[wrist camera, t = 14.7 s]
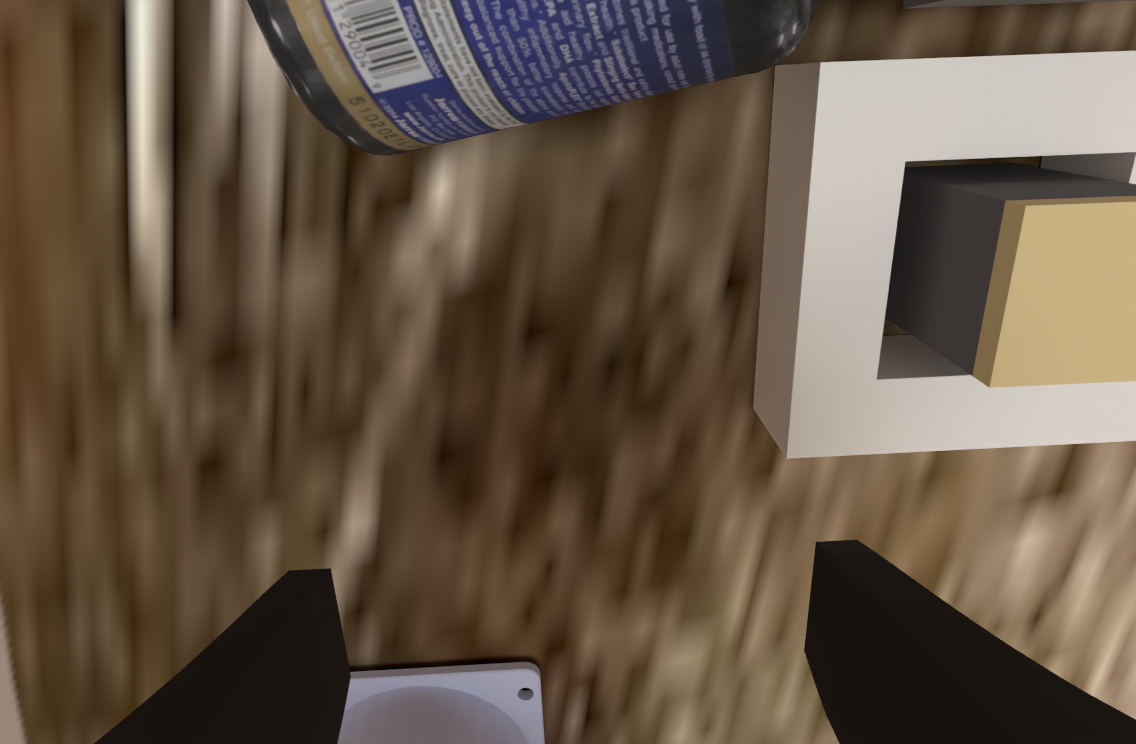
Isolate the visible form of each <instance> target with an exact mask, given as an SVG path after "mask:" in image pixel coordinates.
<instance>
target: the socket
mask: <svg viewBox="0 0 1136 744" xmlns="http://www.w3.org/2000/svg"><path fill="white" fill-rule="evenodd" d="M1026 156H1042V161H1041V166H1040V168H1045V169H1051V170H1056V171H1062V172H1068V173H1074V174H1080V175H1085V176H1091V177H1097V178H1103V179H1108V180H1114V181H1120V182H1126V183H1132V184H1136V51H1112V52H1086V53H1059V54H1032V55H1005V56H979V57H952V58H925V59H898V60H872V61H845V62H819V63H804V64H789V65H775V76H774V91H773V107H772V122H771V137H770V153H769V168H768V184H767V199H766V215H765V230H764V245H763V261H762V276H761V292H760V307H759V322H758V338H757V353H756V369H755V384H754V400H753V409H754V410H755V412H756V413H757V415H758V416H759V418H760V419H761V421H762V422H763V424H764V425H765V427H766V428H767V430H768V431H769V433H770V434H771V436H772V437H773V439H774V440H775V442H776V443H777V445H778V446H779V448H780V449H781V451H782V452H783V454H784V455H785V457H786V458H787V459H788V458H808V457H827V456H847V455H866V454H886V453H905V452H924V451H944V450H963V449H983V448H1002V447H1022V446H1041V445H1061V444H1080V443H1099V442H1119V441H1136V381H1126V382H1104V383H1082V384H1060V385H1038V386H1016V387H993V388H989V387H988V386H986V385H985V384H983V383H982V382H980V381H979V380H977V379H976V378H974V377H973V376H971V375H970V374H968V373H967V372H965V371H964V370H962V369H961V368H960V367H958V366H957V365H955V364H954V363H952V362H951V361H949V360H948V359H946V358H945V357H943V356H942V355H940V354H939V353H937V352H936V351H934V350H933V349H931V348H930V347H928V346H927V345H926V344H924V343H923V342H921V341H920V340H918V339H917V338H915V337H914V336H912V335H890V336H882V335H883V328H884V320H885V312H886V305H887V297H888V290H889V282H890V275H891V267H892V259H893V252H894V244H895V237H896V229H897V221H898V214H899V206H900V199H901V191H902V183H903V176H904V168H905V161H928V160H953V159H977V158H1002V157H1026Z"/></svg>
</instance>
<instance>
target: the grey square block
mask: <svg viewBox="0 0 1136 744" xmlns="http://www.w3.org/2000/svg"><path fill="white" fill-rule="evenodd" d="M1104 1H1133V0H904V4H903V9H908V8H936V7H964V6H992V5H1020V4H1048V3H1076V2H1104Z"/></svg>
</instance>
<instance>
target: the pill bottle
mask: <svg viewBox="0 0 1136 744" xmlns="http://www.w3.org/2000/svg"><path fill="white" fill-rule="evenodd" d="M247 1H248V3H249V5H250V7H251V9H252V12H253V14H254V17H255V19H256V21H257V24H258V26H259V28H260V30H261V32H262V34H263V36H264V38H265V41H266V43H267V45H268V48H269V50H270V52H271V54H272V56H273V58H274V60H275V61H276V63H277V65H278V67H279V68H280V69H281V70H282V72H283V74H284V76H285V78H286V79H287V81H288V83H289V85H290V87H291V89H292V90H293V91H294V93H295V94H296V95H297V96H298V97H299V98H300V99H301V100H302V102H303V103H304V104H305V106H306V107H307V108H308V110H309V111H310V112H311V113H312V114H313V115H314V116H315V117H316V118H317V119H318V120H319V121H320V122H321V123H322V124H323V125H324V126H325V127H326V129H328V130H330V131H331V132H332V133H333V134H334V135H335V136H336V137H337V138H338V139H339V140H341V141H343V142H345V143H347V144H349V145H351V146H353V147H356V148H358V149H360V150H362V151H365V152H367V153H371V154H374V155H392V154H400V153H404V152H408V151H411V150H414V149H419V148H424V147H428V146H433V145H437V144H442V143H446V142H450V141H455V140H459V139H463V138H467V137H472V136H476V135H481V134H485V133H490V132H495V131H499V130H504V129H508V128H512V127H517V126H521V125H525V124H530V123H534V122H538V121H543V120H547V119H552V118H556V117H560V116H565V115H569V114H573V113H578V112H582V111H586V110H591V109H595V108H600V107H604V106H608V105H613V104H617V103H621V102H626V101H630V100H634V99H639V98H643V97H647V96H652V95H656V94H660V93H665V92H669V91H673V90H677V89H682V88H686V87H692V86H696V85H700V84H704V83H708V82H713V81H718V80H723V79H727V78H731V77H735V76H740V75H745V74H752V73H757V72H760V71H762V70H764V69H767V68H769V67H770V66H774V65H776V64H778V63H780V62H781V61H782V60H783V59H784V58H785V57H786V56H789V55H790V54H791V52H792V51H793V50H794V49H795V48H796V47H797V46H798V44H799V42H800V41H801V40H802V39H803V37H804V35H805V34H806V32H807V31H808V29H809V27H810V23H811V21H812V19H813V17H814V13H815V8H816V6H817V5H818V3H819V2H820V1H821V0H247Z"/></svg>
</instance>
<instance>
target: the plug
mask: <svg viewBox="0 0 1136 744" xmlns="http://www.w3.org/2000/svg"><path fill="white" fill-rule="evenodd" d="M885 317H886V318H887V319H889V320H890V321H891V322H893V323H894V324H896V325H897V326H899V327H900V328H902V329H903V330H905V331H906V332H908V333H909V334H911V335H912V336H914V337H915V338H917V339H918V340H920V341H921V342H923V343H924V344H926V345H927V346H928V347H930V348H931V349H933V350H934V351H936V352H937V353H939V354H940V355H942V356H943V357H945V358H946V359H948V360H949V361H951V362H952V363H954V364H955V365H957V366H958V367H960V368H961V369H962V370H964V371H965V372H967V373H968V374H970V375H971V376H973V377H974V378H976V379H977V380H979V381H980V382H982V383H983V384H985V385H986V386H988V387H989V388H993V387H1016V386H1038V385H1060V384H1082V383H1104V382H1126V381H1136V184H1132V183H1126V182H1120V181H1114V180H1108V179H1103V178H1097V177H1091V176H1085V175H1080V174H1074V173H1068V172H1062V171H1056V170H1051V169H1045V168H1039V167H1033V166H1027V165H1022V164H1016V163H1003V164H976V165H948V166H920V167H905V168H904V176H903V183H902V191H901V199H900V206H899V214H898V221H897V229H896V237H895V244H894V252H893V259H892V267H891V275H890V282H889V290H888V297H887V305H886V312H885Z"/></svg>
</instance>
